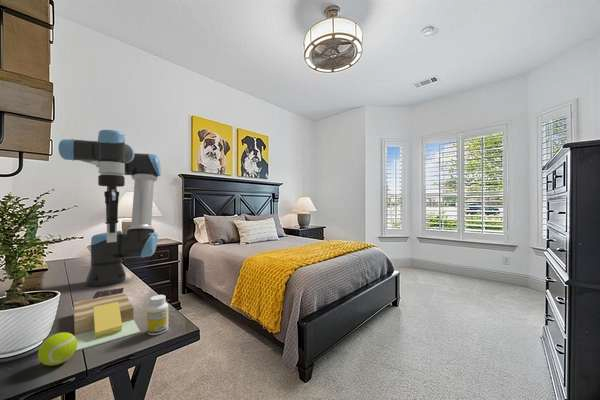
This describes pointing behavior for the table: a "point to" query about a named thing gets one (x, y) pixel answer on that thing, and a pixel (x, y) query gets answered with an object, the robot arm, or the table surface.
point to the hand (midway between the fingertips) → (111, 241)
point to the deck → (85, 308)
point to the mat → (105, 336)
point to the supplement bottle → (157, 315)
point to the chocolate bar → (108, 292)
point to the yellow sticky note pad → (107, 319)
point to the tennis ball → (57, 349)
